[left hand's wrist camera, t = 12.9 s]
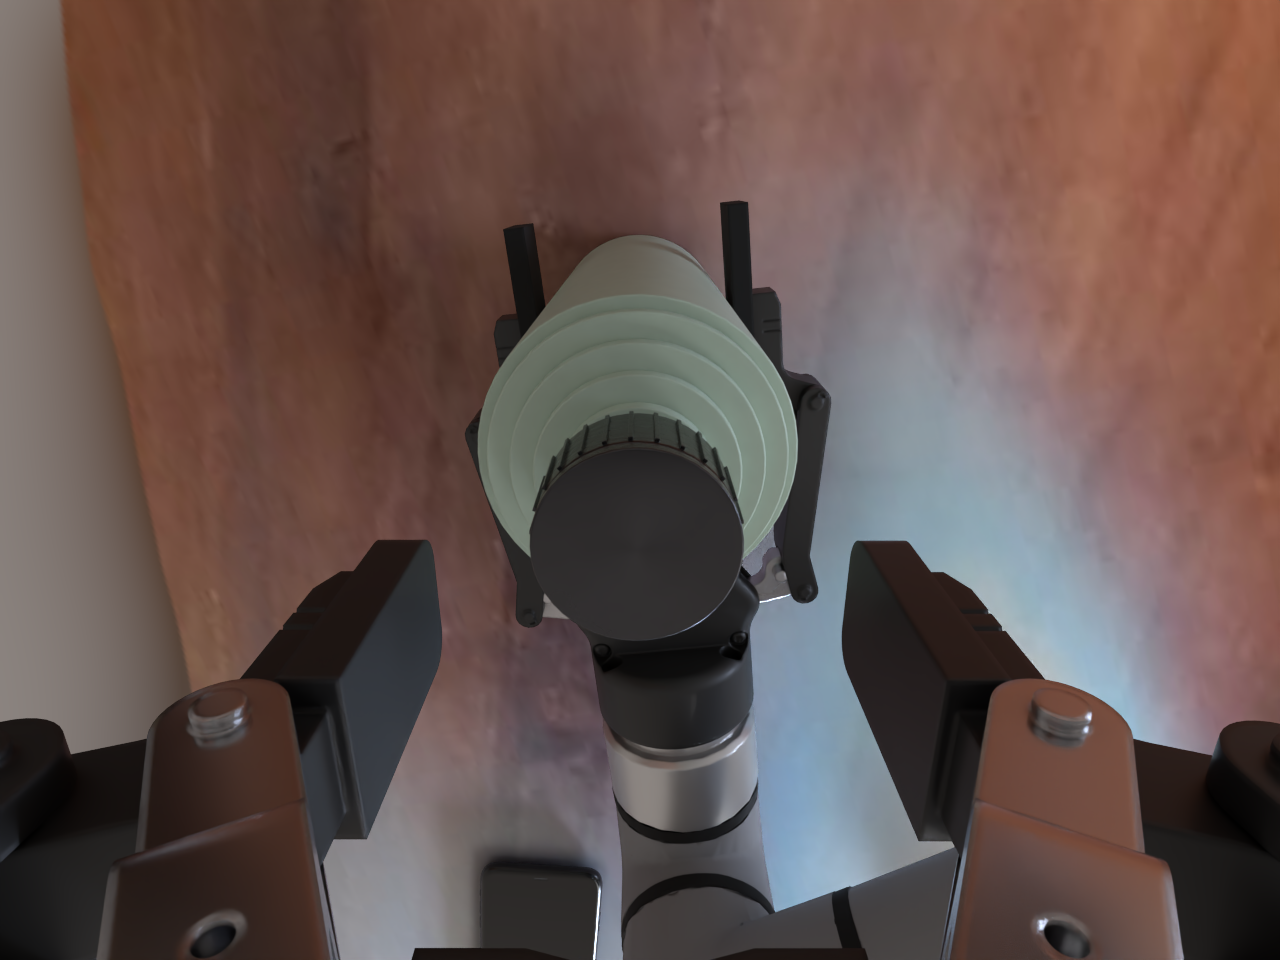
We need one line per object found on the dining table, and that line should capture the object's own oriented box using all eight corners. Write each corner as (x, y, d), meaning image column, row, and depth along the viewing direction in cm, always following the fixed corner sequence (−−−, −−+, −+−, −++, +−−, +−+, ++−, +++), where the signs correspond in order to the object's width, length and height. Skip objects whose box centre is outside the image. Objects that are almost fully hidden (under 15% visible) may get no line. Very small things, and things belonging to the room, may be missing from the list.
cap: (602, 371, 14) (596, 402, 12) (771, 471, 15) (792, 516, 13) (507, 530, 15) (487, 582, 13) (667, 616, 16) (671, 677, 14)
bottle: (611, 202, 34) (556, 240, 12) (747, 290, 36) (933, 475, 13) (533, 342, 37) (359, 600, 14) (663, 419, 38) (698, 766, 16)
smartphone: (590, 1026, 55) (604, 864, 49) (590, 1039, 54) (603, 876, 48) (481, 1020, 55) (481, 856, 49) (479, 1033, 54) (479, 868, 48)
